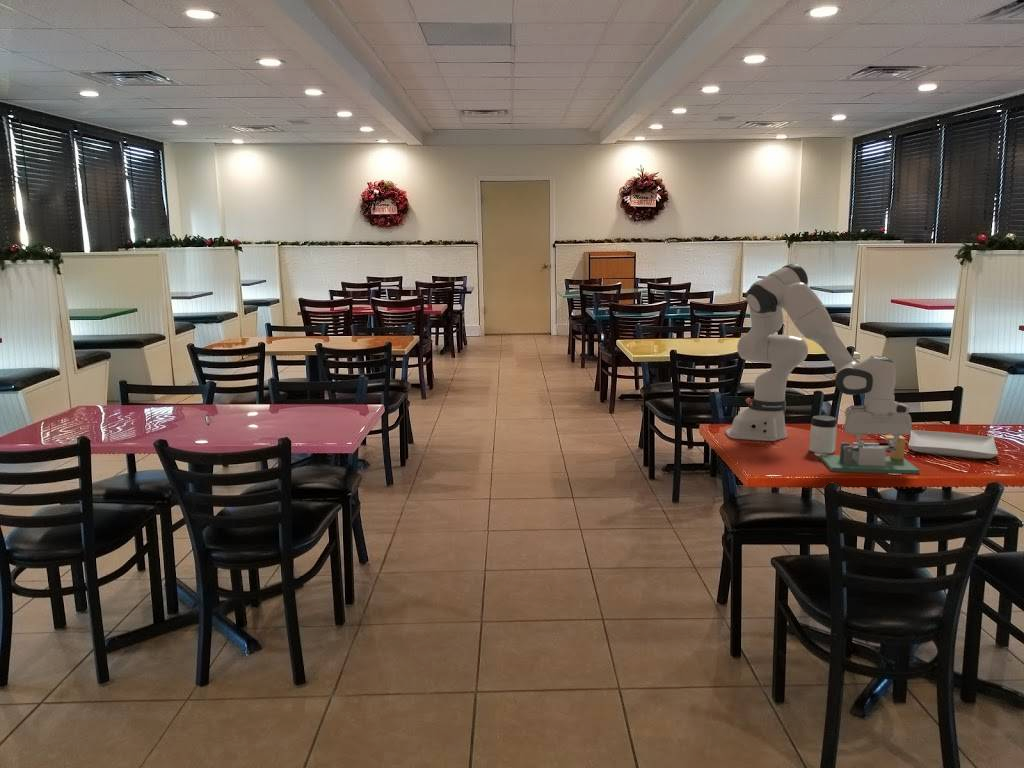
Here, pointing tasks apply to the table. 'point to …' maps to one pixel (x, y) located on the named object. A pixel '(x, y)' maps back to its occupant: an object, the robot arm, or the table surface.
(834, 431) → the jar
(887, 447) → the dark grey flat bar
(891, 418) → the robot arm
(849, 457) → the board
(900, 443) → the tan wooden block
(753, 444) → the table surface
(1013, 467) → the table surface
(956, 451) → the square plate
